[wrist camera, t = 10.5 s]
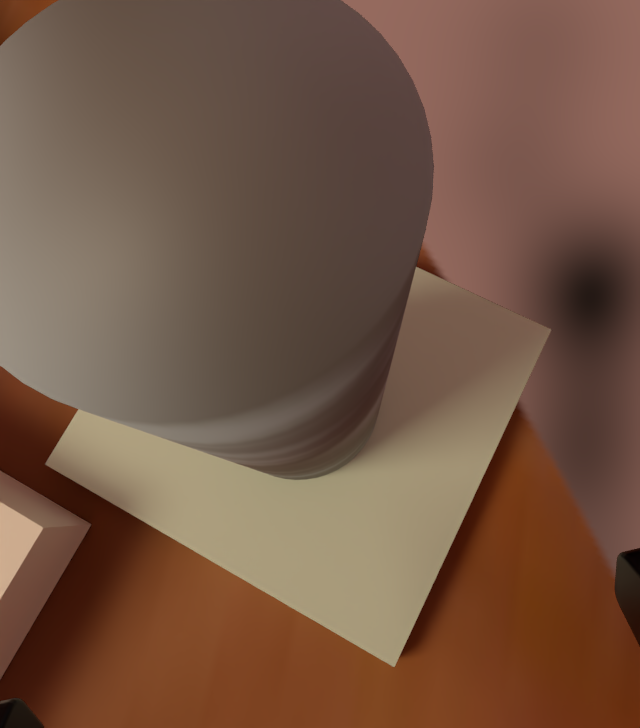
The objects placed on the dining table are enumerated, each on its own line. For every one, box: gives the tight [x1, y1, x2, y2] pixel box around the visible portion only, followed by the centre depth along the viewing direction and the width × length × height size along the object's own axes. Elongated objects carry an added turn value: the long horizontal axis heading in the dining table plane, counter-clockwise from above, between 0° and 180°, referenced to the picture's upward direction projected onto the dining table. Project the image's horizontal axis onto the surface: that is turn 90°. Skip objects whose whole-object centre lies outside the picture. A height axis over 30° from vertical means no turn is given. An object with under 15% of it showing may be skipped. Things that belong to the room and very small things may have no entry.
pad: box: [45, 267, 551, 667], centre depth 19 cm, size 11×12×1 cm
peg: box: [0, 0, 434, 480], centre depth 12 cm, size 5×5×13 cm
